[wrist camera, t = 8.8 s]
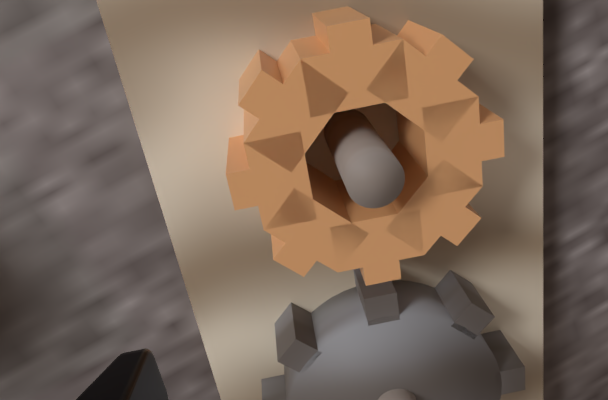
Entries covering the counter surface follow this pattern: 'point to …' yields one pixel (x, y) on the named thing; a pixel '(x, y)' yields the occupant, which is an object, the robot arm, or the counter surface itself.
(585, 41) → the counter surface
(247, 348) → the gear board
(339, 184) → the orange gear
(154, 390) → the robot arm
